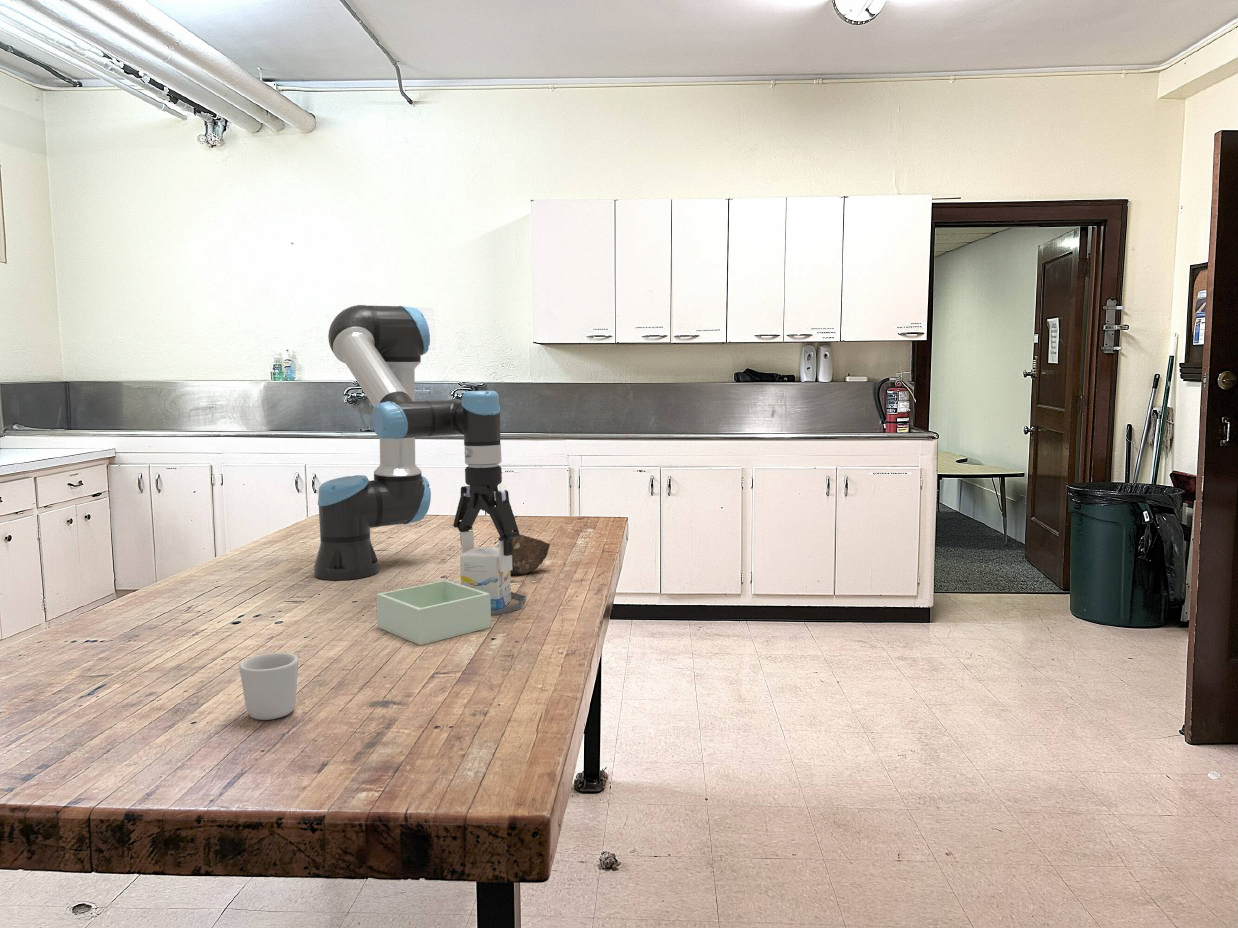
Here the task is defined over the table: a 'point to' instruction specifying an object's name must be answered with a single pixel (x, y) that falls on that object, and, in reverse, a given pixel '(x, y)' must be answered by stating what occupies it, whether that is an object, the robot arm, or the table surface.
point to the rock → (527, 554)
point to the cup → (269, 684)
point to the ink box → (486, 574)
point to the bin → (433, 611)
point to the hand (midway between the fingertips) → (486, 566)
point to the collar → (512, 607)
